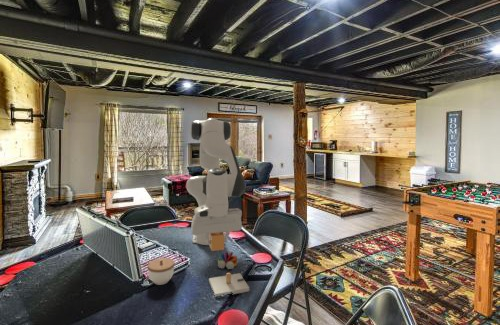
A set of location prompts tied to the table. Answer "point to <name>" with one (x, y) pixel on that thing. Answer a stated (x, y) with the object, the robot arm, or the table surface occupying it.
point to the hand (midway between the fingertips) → (216, 242)
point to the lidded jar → (161, 270)
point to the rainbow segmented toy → (227, 261)
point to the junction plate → (228, 284)
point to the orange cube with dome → (217, 241)
